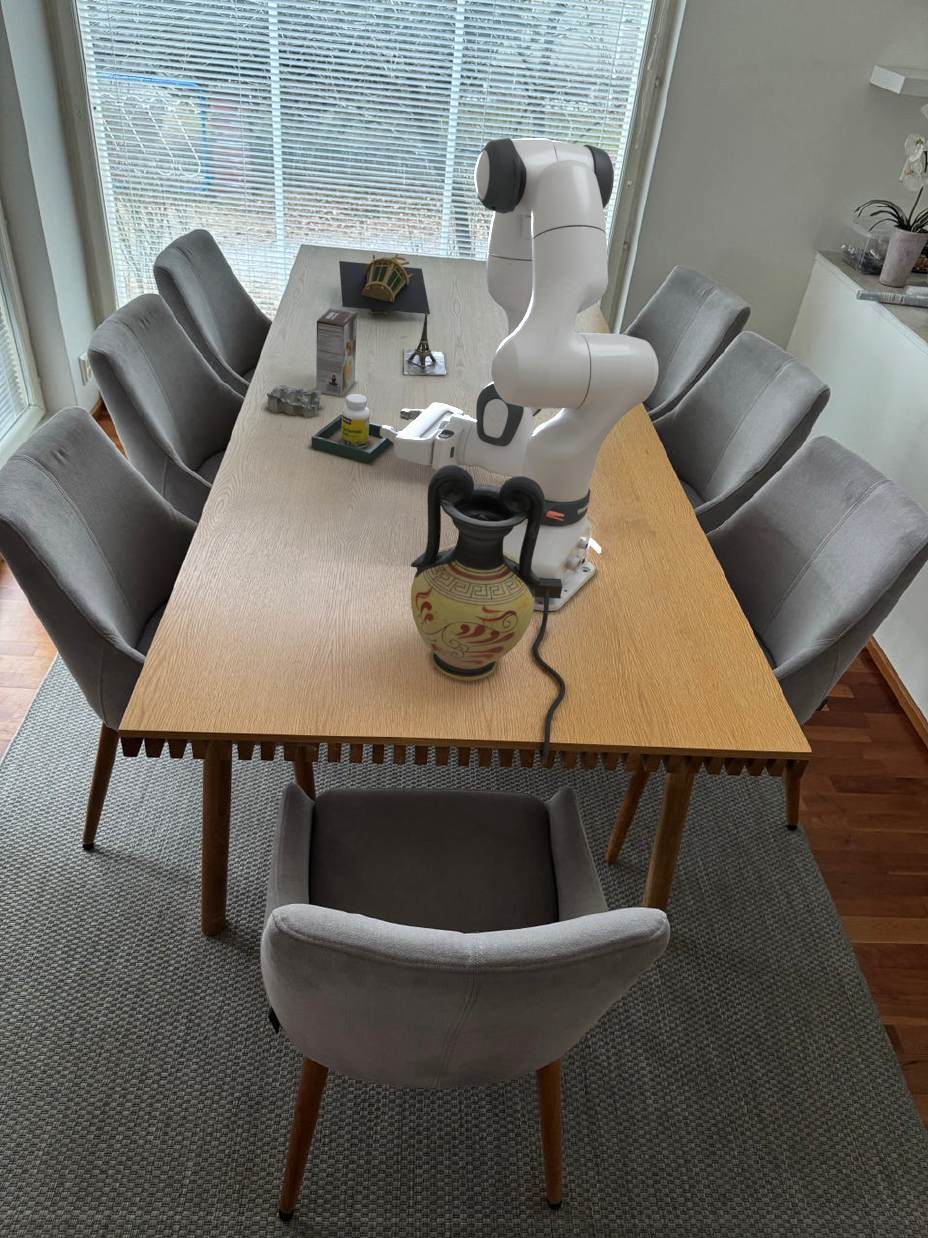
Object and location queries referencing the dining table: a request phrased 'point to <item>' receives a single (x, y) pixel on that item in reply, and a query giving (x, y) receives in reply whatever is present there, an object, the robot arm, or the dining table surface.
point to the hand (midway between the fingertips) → (391, 421)
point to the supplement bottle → (355, 421)
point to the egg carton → (294, 401)
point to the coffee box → (336, 351)
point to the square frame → (348, 451)
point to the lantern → (383, 286)
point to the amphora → (476, 572)
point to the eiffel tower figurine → (423, 358)
